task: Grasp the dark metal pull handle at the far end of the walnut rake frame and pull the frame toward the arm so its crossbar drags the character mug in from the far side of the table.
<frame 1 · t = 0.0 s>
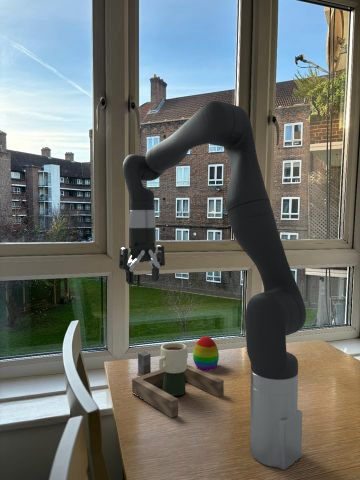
hand: (143, 282, 110), 29 cm above the table, tool pointing down, fingers open, 8 cm apart
decorative egg: (205, 368, 123), on the table
character mug: (174, 393, 105), resting in rake frame
rake frame: (167, 376, 107), point 4 cm above the table, slide at 0.0 cm
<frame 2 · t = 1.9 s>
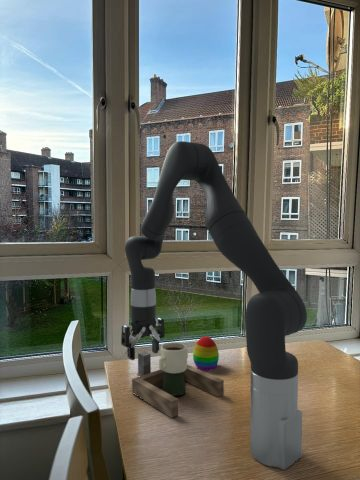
hand: (143, 355, 115), 6 cm above the table, tool pointing down, fingers open, 8 cm apart
nothing on the table moved.
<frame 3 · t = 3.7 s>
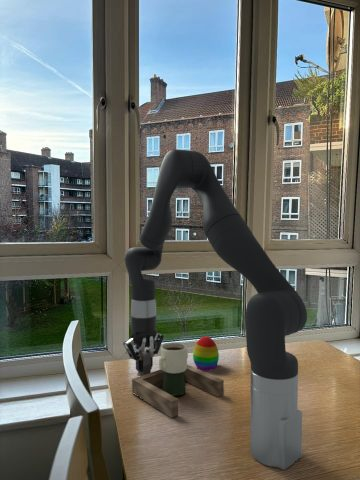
hand: (144, 370, 116), 2 cm above the table, tool pointing down, fingers closed on rake frame, 2 cm apart
rake frame: (167, 376, 107), point 4 cm above the table, slide at 0.0 cm, touching gripper
everything else where it was.
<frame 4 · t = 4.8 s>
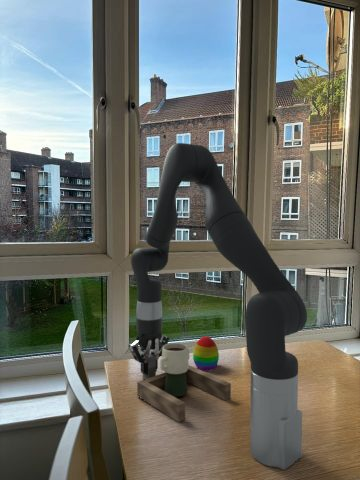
hand: (149, 372, 114), 2 cm above the table, tool pointing down, fingers closed on rake frame, 2 cm apart
character mug: (175, 394, 105), resting in rake frame
rake frame: (173, 379, 105), point 4 cm above the table, slide at 2.5 cm, touching character mug, gripper
everything else where it was.
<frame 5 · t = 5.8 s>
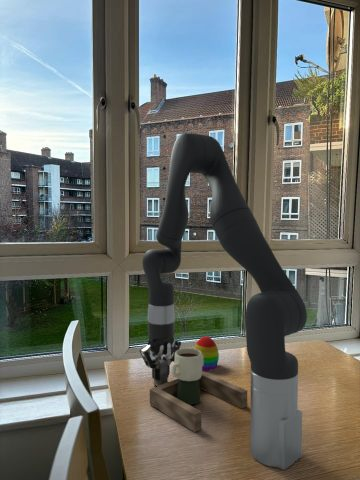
hand: (160, 378, 109), 2 cm above the table, tool pointing down, fingers closed on rake frame, 2 cm apart
character mug: (188, 402, 100), resting in rake frame
rake frame: (187, 386, 101), point 4 cm above the table, slide at 8.1 cm, touching character mug, gripper
everything else where it was.
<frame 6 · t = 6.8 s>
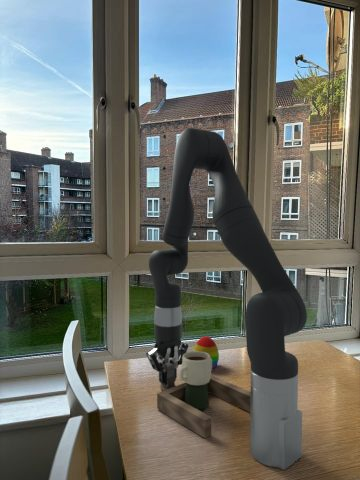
hand: (167, 382, 107), 2 cm above the table, tool pointing down, fingers closed on rake frame, 2 cm apart
character mug: (196, 406, 98), resting in rake frame
rake frame: (195, 390, 98), point 4 cm above the table, slide at 11.3 cm, touching character mug, gripper
everything else where it was.
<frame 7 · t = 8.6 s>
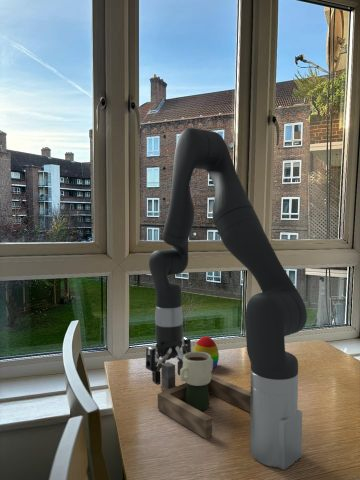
hand: (169, 379, 106), 3 cm above the table, tool pointing down, fingers open, 8 cm apart
character mug: (197, 407, 98), resting in rake frame
rake frame: (195, 390, 98), point 4 cm above the table, slide at 11.5 cm
everything else where it was.
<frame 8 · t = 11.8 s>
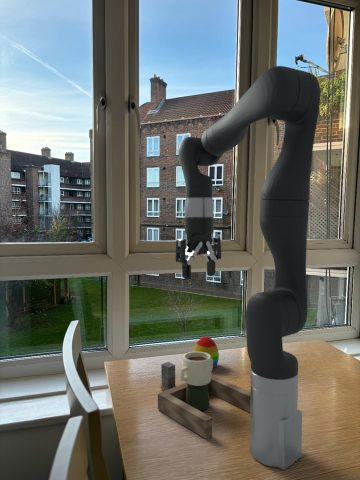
hand: (199, 277, 101), 32 cm above the table, tool pointing down, fingers open, 8 cm apart
nothing on the table moved.
at the end: rake frame slide at 11.5 cm; character mug inside the target area (1.9 cm from its centre), resting in rake frame; character mug tilted 0° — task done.
